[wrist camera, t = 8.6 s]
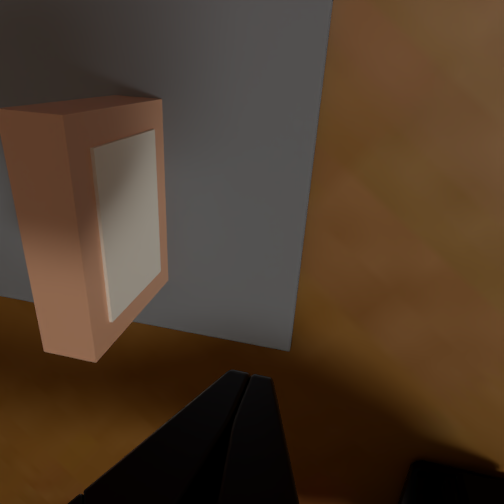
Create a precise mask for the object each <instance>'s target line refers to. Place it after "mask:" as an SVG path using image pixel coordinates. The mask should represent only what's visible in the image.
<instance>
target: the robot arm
mask: <svg viewBox="0 0 504 504" xmlns="http://www.w3.org/2000/svg"><path fill="white" fill-rule="evenodd" d="M68 504H299V500H298V495H297V491H296V486H295V481H294V477H293V472H292V467H291V462H290V458H289V453H288V448H287V444H286V439H285V434H284V430H283V425H282V420H281V415H280V411H279V406H278V401H277V397H276V392H275V387H274V382H273V380H272V378H270V377H266V376H261V375H256V374H254V375H252V376H250V374H249V373H246V372H242V371H237V370H229V371H227V372H226V373H225V374H224V375H223V376H221V377H220V378H219V379H218V380H217V381H215V382H214V383H213V384H212V385H211V386H209V387H208V388H207V389H206V390H205V391H203V392H202V393H201V394H200V395H199V396H197V397H196V398H195V399H194V400H192V401H191V402H190V403H189V404H188V405H186V406H185V407H184V408H183V409H182V410H180V411H179V412H178V413H177V414H176V415H174V416H173V417H172V418H171V419H170V420H168V421H167V422H166V423H165V424H164V425H162V426H161V427H160V428H159V429H157V430H156V431H155V432H154V433H153V434H151V435H150V436H149V437H148V438H147V439H145V440H144V441H143V442H142V443H141V444H139V445H138V446H137V447H136V448H135V449H133V450H132V451H131V452H130V453H129V454H127V455H126V456H125V457H124V458H123V459H121V460H120V461H119V462H118V463H116V464H115V465H114V466H113V467H112V468H110V469H109V470H108V471H107V472H106V473H104V474H103V475H102V476H101V477H100V478H98V479H97V480H96V481H95V482H94V483H92V484H91V485H90V486H89V487H88V488H86V489H85V490H84V496H83V494H79V495H78V496H76V497H75V498H74V499H73V500H72V501H70V502H69V503H68ZM398 504H504V479H501V478H496V477H492V476H488V475H483V474H479V473H475V472H470V471H466V470H461V469H457V468H453V467H448V466H444V465H439V464H435V463H431V462H426V461H420V460H419V461H415V462H413V463H412V464H411V466H410V469H409V472H408V475H407V478H406V481H405V484H404V487H403V491H402V494H401V497H400V500H399V503H398Z"/></svg>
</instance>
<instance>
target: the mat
mask: <svg viewBox="0 0 504 504" xmlns="http://www.w3.org/2000/svg"><path fill="white" fill-rule="evenodd" d="M332 4H333V0H0V108H4V107H13V106H22V105H31V104H40V103H48V102H57V101H66V100H75V99H84V98H93V97H102V96H110V95H121V96H133V97H145V98H156V99H162V111H163V140H164V168H165V197H166V226H167V255H168V281H167V282H166V284H165V285H164V286H163V287H162V288H161V289H160V290H159V292H158V293H157V294H156V295H155V296H154V297H153V298H152V300H151V301H150V302H149V303H148V304H147V305H146V306H145V308H144V309H143V310H142V311H141V312H140V313H139V314H138V316H137V317H136V318H135V319H134V320H133V322H138V323H144V324H149V325H154V326H159V327H164V328H170V329H175V330H180V331H185V332H190V333H196V334H201V335H206V336H211V337H216V338H221V339H227V340H232V341H237V342H242V343H247V344H253V345H258V346H263V347H268V348H273V349H279V350H284V351H290V347H291V339H292V331H293V323H294V315H295V307H296V298H297V290H298V282H299V274H300V266H301V257H302V249H303V241H304V233H305V225H306V217H307V208H308V200H309V192H310V184H311V176H312V168H313V159H314V151H315V143H316V135H317V127H318V119H319V110H320V102H321V94H322V86H323V78H324V69H325V61H326V53H327V45H328V37H329V29H330V20H331V12H332ZM0 296H4V297H9V298H14V299H19V300H24V301H29V302H34V299H33V294H32V289H31V284H30V280H29V275H28V270H27V265H26V260H25V255H24V250H23V245H22V240H21V235H20V230H19V225H18V220H17V215H16V210H15V205H14V200H13V195H12V190H11V185H10V180H9V175H8V170H7V165H6V160H5V155H4V150H3V145H2V140H1V135H0Z"/></svg>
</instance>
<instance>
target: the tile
mask: <svg viewBox="0 0 504 504" xmlns="http://www.w3.org/2000/svg"><path fill="white" fill-rule="evenodd" d="M0 135H1V140H2V145H3V150H4V155H5V160H6V165H7V170H8V175H9V180H10V185H11V190H12V195H13V200H14V205H15V210H16V215H17V220H18V225H19V230H20V235H21V240H22V245H23V250H24V255H25V260H26V265H27V270H28V275H29V280H30V284H31V289H32V294H33V299H34V304H35V309H36V314H37V319H38V324H39V329H40V334H41V339H42V344H43V349H44V352H48V353H53V354H57V355H62V356H67V357H71V358H76V359H81V360H85V361H90V362H95V363H96V362H97V361H98V360H99V359H100V358H101V357H102V356H103V354H104V353H105V352H106V351H107V350H108V349H109V348H110V346H111V345H112V344H113V343H114V342H115V341H116V340H117V338H118V337H119V336H120V335H121V334H122V333H123V332H124V330H125V329H126V328H127V327H128V326H129V325H130V324H131V322H132V321H133V320H134V319H135V318H136V317H137V316H138V314H139V313H140V312H141V311H142V310H143V309H144V308H145V306H146V305H147V304H148V303H149V302H150V301H151V300H152V298H153V297H154V296H155V295H156V294H157V293H158V292H159V290H160V289H161V288H162V287H163V286H164V285H165V284H166V282H167V281H168V255H167V226H166V197H165V168H164V140H163V111H162V99H156V98H145V97H133V96H121V95H110V96H102V97H93V98H84V99H75V100H66V101H57V102H48V103H40V104H31V105H22V106H13V107H4V108H0Z"/></svg>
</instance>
